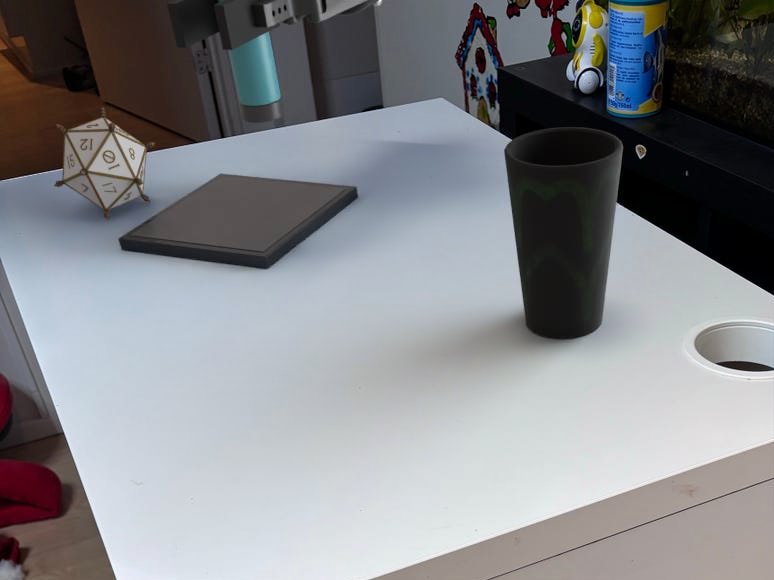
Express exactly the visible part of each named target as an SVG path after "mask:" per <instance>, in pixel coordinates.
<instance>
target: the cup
mask: <svg viewBox="0 0 774 580" xmlns="http://www.w3.org/2000/svg"><path fill="white" fill-rule="evenodd" d="M623 151H624V145H623V143H622V140H620V138H618V137H617V136H616V135H615V134H612V133H610V132H608V131H604V130H600V129H596V128H589V127H578V126H576V127H575V126H568V127H565V126H564V127H563V126H561V127H552V128H543V129H539V130H533V131H530V132H528V133H524V134H521V135H519V136H517V137H515V138H512V140H510V142H508V143H507V144H506V145H505V147H504V149H503V152H504V160H505V168H506V169H505V170H506V176H507V185H508V192H509V193H508V194H509V199H510V201H509V202H510V208H511V218H512V225H513V231H514V240H515V248H516V256H517V263H518V272H519V281H520V288H521V296H522V304H523V312H524V320H525V326H526V327H527V329H528V330H529V331H530V332H531V333H533V334H536V335H537V336H540V337H543V338H548V339H555V340H559V339H560V340H562V339H563V340H564V339H567V340H568V339H575V338H581V337H583V336H587V335H589V334H591V333H593V332H595V331H596V330H598V329H599V328H600V326H601V325H602V323H603V318H604V317H603V316H604V308H605V301H606V291H607V283H608V276H609V268H610V260H611V259H610V258H611V251H612V250H611V249H612V242H613V233H614V225H615V218H616V211H617V201H618V191H619V185H620V178H621V177H620V176H621V168H622V160H623V159H622V158H623Z"/></svg>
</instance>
